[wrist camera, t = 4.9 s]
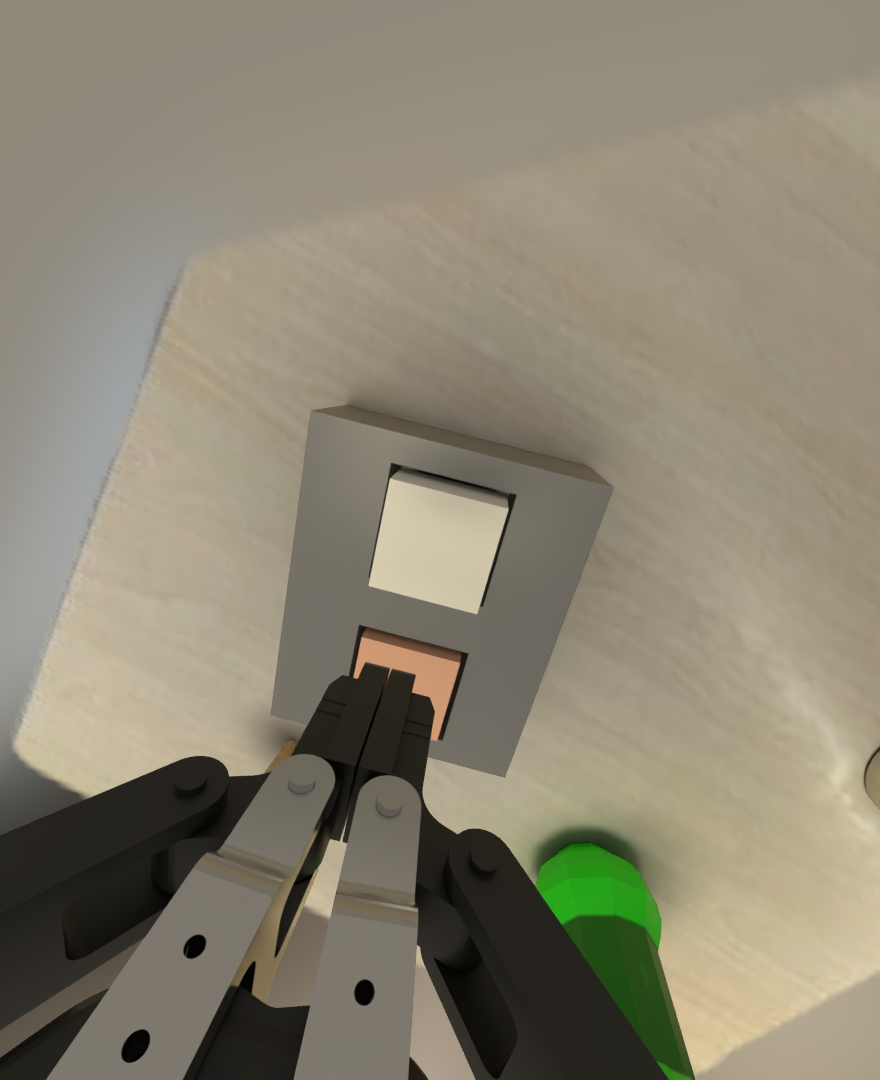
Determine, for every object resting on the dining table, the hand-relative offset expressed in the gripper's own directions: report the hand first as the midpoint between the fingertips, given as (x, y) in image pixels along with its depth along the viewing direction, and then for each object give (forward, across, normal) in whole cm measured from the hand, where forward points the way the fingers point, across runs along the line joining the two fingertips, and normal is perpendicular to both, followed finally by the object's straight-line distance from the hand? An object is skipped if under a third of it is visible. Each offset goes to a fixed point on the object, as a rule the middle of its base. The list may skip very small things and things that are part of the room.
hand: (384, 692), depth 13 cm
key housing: (+19, 0, +5) cm, 19 cm away
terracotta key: (+15, 0, +10) cm, 18 cm away
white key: (+14, 0, 0) cm, 14 cm away
